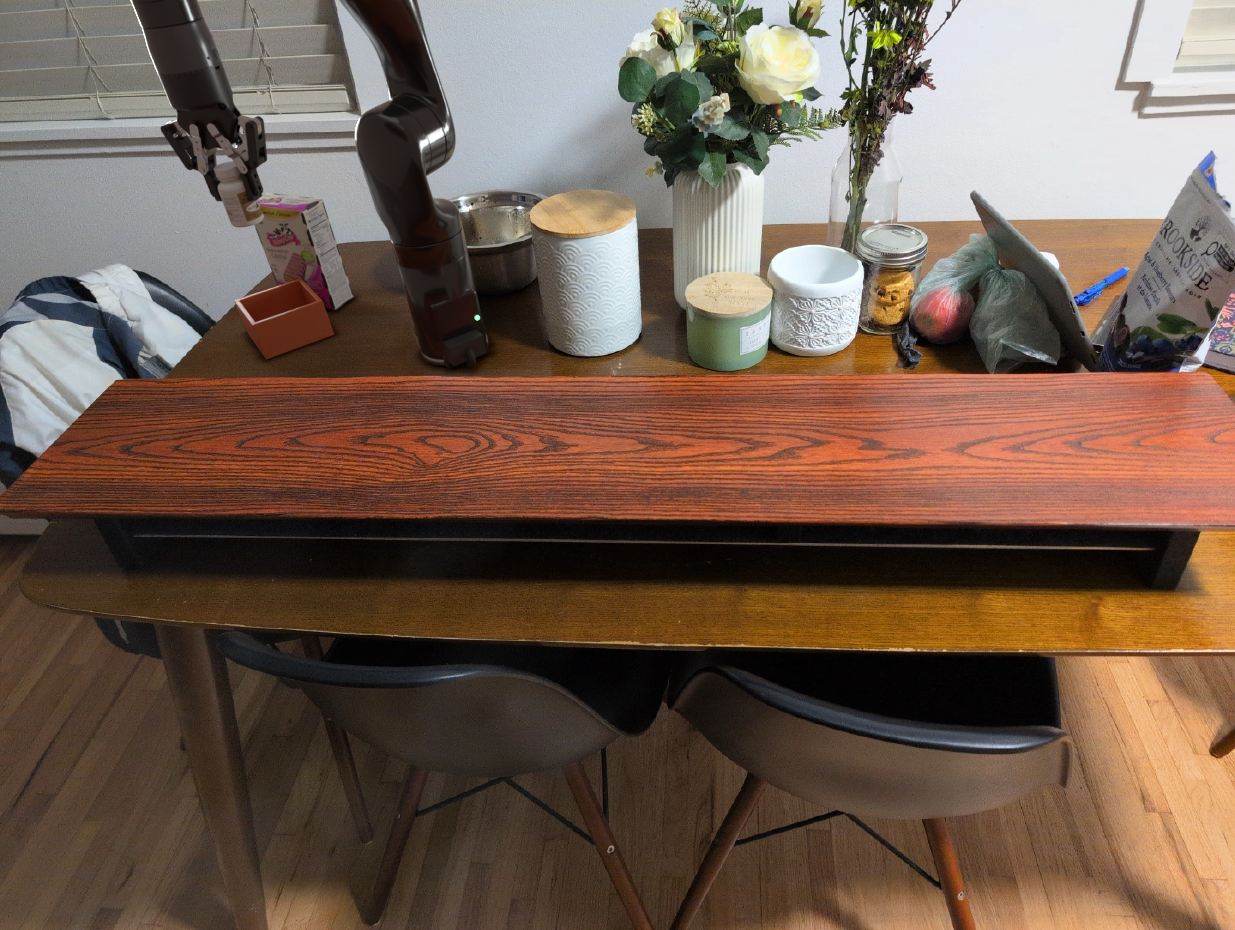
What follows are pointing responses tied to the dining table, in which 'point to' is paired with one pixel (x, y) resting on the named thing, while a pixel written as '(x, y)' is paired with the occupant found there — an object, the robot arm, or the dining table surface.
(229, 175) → the pill bottle
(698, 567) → the dining table surface
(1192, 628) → the dining table surface
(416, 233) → the robot arm
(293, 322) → the bin
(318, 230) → the candy bar box
